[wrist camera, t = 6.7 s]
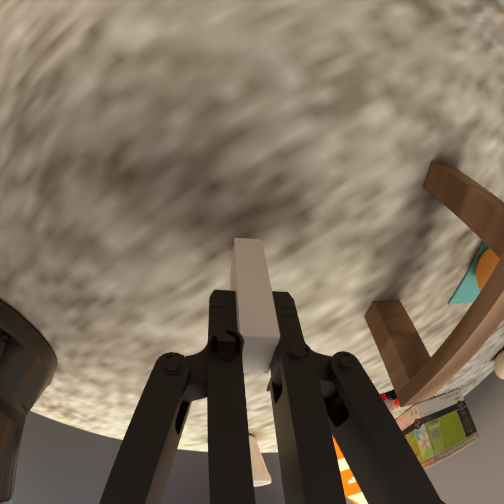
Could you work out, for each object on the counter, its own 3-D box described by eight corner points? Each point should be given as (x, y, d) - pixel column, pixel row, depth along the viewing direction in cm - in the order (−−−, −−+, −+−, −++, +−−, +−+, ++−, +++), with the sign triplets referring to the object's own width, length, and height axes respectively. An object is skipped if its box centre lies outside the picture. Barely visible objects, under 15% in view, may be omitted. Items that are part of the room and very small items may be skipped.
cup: (272, 439, 43) (277, 483, 36) (221, 446, 44) (223, 488, 37) (257, 425, 38) (262, 479, 30) (198, 432, 39) (198, 483, 31)
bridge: (364, 317, 23) (400, 407, 16) (431, 160, 15) (532, 238, 8) (390, 315, 24) (429, 398, 16) (459, 170, 15) (549, 244, 8)
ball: (511, 309, 19) (483, 275, 23) (539, 266, 15) (505, 233, 20) (489, 319, 17) (458, 279, 22) (522, 270, 14) (483, 231, 19)
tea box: (391, 421, 49) (407, 476, 37) (416, 401, 43) (437, 463, 31) (435, 407, 51) (453, 455, 39) (460, 386, 45) (481, 438, 33)
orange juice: (345, 439, 51) (361, 513, 35) (331, 434, 46) (349, 520, 30) (377, 426, 49) (397, 502, 32) (367, 421, 44) (390, 508, 28)
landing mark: (447, 303, 24) (448, 304, 24) (500, 202, 17) (502, 203, 17) (499, 297, 26) (500, 298, 26) (541, 220, 19) (542, 221, 19)
